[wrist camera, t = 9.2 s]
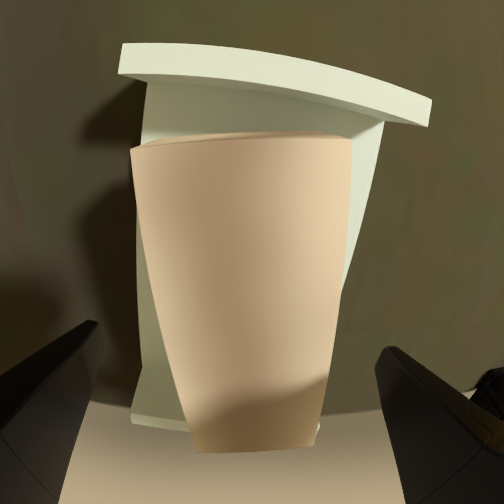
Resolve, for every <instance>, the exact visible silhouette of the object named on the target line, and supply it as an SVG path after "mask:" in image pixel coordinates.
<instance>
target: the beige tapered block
mask: <svg viewBox="0 0 504 504" xmlns="http://www.w3.org/2000/svg"><path fill="white" fill-rule="evenodd" d="M130 153H131V163H132V172H133V180H134V188H135V196H136V203H137V210H138V217H139V223H140V229H141V236H142V241H143V247H144V253H145V258H146V264H147V269H148V274H149V279H150V284H151V289H152V294H153V298H154V303H155V307H156V312H157V316H158V320H159V325H160V329H161V333H162V337H163V341H164V345H165V349H166V353H167V357H168V360H169V364H170V368H171V371H172V375H173V378H174V382H175V385H176V389H177V392H178V396H179V399H180V402H181V405H182V409H183V412H184V415H185V418H186V421H187V424H188V427H189V430H190V433H191V436H192V439H193V442H194V445H195V448H196V450H197V453H233V452H256V451H270V450H283V449H292V448H301V447H309V446H314V441H315V437H316V433H317V428H318V424H319V419H320V415H321V410H322V405H323V400H324V395H325V390H326V385H327V380H328V374H329V369H330V363H331V357H332V351H333V345H334V339H335V332H336V326H337V319H338V312H339V304H340V296H341V288H342V280H343V271H344V262H345V252H346V241H347V229H348V217H349V202H350V184H351V161H352V139H348V138H344V137H341V136H337V135H333V134H329V133H325V132H321V131H249V132H227V133H211V134H197V135H185V136H175V137H165V138H159V139H156V140H153V141H150V142H148V143H145V144H142V145H140V146H137V147H134V148H132V149H130Z"/></svg>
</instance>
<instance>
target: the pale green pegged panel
mask: <svg viewBox="0 0 504 504" xmlns="http://www.w3.org/2000/svg"><path fill="white" fill-rule="evenodd" d="M118 74H121V75H124V76H128V77H131V78H134V79H138V80H141V81H144V82H148V84H147V91H146V99H145V107H144V116H143V125H142V135H141V145H142V144H145V143H148V142H150V141H153V140H156V139H159V138H165V137H175V136H185V135H197V134H211V133H227V132H249V131H321V132H325V133H329V134H333V135H337V136H341V137H344V138H348V139H352V161H351V184H350V202H349V217H348V229H347V241H346V252H345V262H344V271H343V280H342V288H343V285H344V281H345V278H346V275H347V272H348V268H349V265H350V262H351V258H352V255H353V251H354V248H355V244H356V241H357V237H358V234H359V230H360V226H361V223H362V219H363V215H364V211H365V207H366V203H367V199H368V195H369V191H370V187H371V183H372V178H373V174H374V170H375V165H376V160H377V156H378V151H379V146H380V141H381V136H382V131H383V126H384V121H390V122H398V123H405V124H412V125H419V126H425V127H428V121H429V116H430V110H431V104H432V100H431V99H429V98H427V97H424V96H422V95H419V94H417V93H414V92H411V91H409V90H406V89H403V88H401V87H398V86H395V85H392V84H390V83H387V82H384V81H381V80H378V79H375V78H371V77H368V76H365V75H362V74H358V73H355V72H352V71H348V70H344V69H341V68H337V67H333V66H329V65H325V64H321V63H317V62H313V61H308V60H304V59H299V58H294V57H289V56H284V55H278V54H272V53H266V52H260V51H253V50H246V49H238V48H230V47H220V46H209V45H196V44H175V43H126V44H123V46H122V52H121V58H120V64H119V70H118ZM136 264H137V299H138V318H139V334H140V347H141V358H142V370H141V374H140V377H139V381H138V384H137V388H136V391H135V395H134V398H133V402H132V406H131V410H130V416H131V421H132V423H135V424H141V425H146V426H152V427H158V428H165V429H172V430H179V431H187V432H190V430H189V427H188V424H187V421H186V418H185V415H184V412H183V409H182V405H181V402H180V399H179V396H178V392H177V389H176V385H175V382H174V378H173V375H172V371H171V368H170V364H169V360H168V357H167V353H166V349H165V345H164V341H163V337H162V333H161V329H160V325H159V320H158V316H157V312H156V307H155V303H154V298H153V294H152V289H151V284H150V279H149V274H148V269H147V264H146V258H145V253H144V247H143V241H142V236H141V229H140V223H139V217H138V210H137V229H136ZM342 288H341V291H342ZM319 427H320V424H318V428H317V431H318V430H319Z"/></svg>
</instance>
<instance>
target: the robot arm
mask: <svg viewBox="0 0 504 504" xmlns="http://www.w3.org/2000/svg"><path fill="white" fill-rule="evenodd" d="M103 349H104V340H103V333H102V327H101V324H100V322H98V321H93V320H86V321H85V322H83V323H81V324H80V325H78V326H77V327H75V328H73V329H72V330H70V331H69V332H67V333H65V334H64V335H62V336H61V337H59V338H57V339H56V340H54V341H53V342H51V343H50V344H48V345H46V346H45V347H43V348H42V349H40V350H39V351H37V352H35V353H34V354H32V355H31V356H29V357H28V358H26V359H25V360H23V361H21V362H20V363H18V364H17V365H15V366H14V367H12V368H11V369H9V371H6V372H4V373H3V374H1V375H0V504H58V501H59V498H60V494H61V490H62V487H63V483H64V479H65V476H66V472H67V468H68V465H69V461H70V458H71V455H72V451H73V449H74V445H75V442H76V439H77V436H78V433H79V429H80V427H81V424H82V421H83V418H84V415H85V412H86V409H87V406H88V403H89V401H90V398H91V395H92V392H93V389H94V385H95V381H96V377H97V373H98V369H99V365H100V361H101V357H102V353H103ZM375 375H376V381H377V386H378V391H379V397H380V403H381V408H382V412H383V415H384V419H385V422H386V426H387V430H388V433H389V437H390V441H391V445H392V448H393V452H394V456H395V460H396V464H397V468H398V472H399V476H400V481H401V485H402V489H403V494H404V499H405V503H406V504H504V368H500V369H495V370H491V371H490V372H489V373H488V374H487V375H486V377H485V378H484V380H483V381H482V383H481V384H480V386H479V387H478V388H477V390H476V391H475V393H474V394H473V395H472V397H471V398H470V399H469V400H468V398H467V397H465V396H464V395H463V394H461V393H460V392H458V391H457V390H456V389H454V388H453V387H452V386H450V385H449V384H447V383H446V382H445V381H443V380H442V379H441V378H439V377H438V376H436V375H435V374H434V373H432V372H431V371H429V370H428V369H427V368H425V367H424V366H423V365H421V364H420V363H418V362H417V361H416V360H414V359H413V358H411V357H410V356H409V355H407V354H406V353H405V352H403V351H402V350H400V349H399V348H398V347H396V346H386V347H384V348H383V350H382V352H381V354H380V356H379V358H378V360H377V362H376V364H375Z"/></svg>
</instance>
